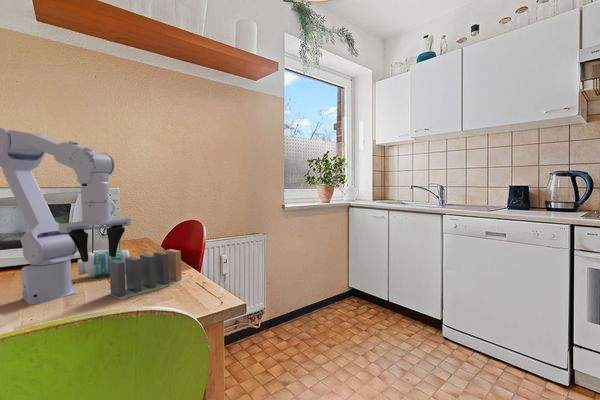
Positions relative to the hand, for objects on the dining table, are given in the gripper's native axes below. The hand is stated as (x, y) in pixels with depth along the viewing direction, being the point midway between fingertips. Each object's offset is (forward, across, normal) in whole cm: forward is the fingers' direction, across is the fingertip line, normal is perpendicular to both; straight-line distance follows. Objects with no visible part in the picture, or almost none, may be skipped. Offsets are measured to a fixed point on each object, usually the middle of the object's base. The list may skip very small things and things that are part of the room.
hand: (99, 258), depth 72 cm
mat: (+10, +12, +1) cm, 16 cm away
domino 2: (+10, +8, 0) cm, 13 cm away
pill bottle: (+6, +16, +21) cm, 27 cm away
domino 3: (+10, +12, 0) cm, 15 cm away
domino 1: (+10, +4, 0) cm, 11 cm away
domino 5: (+10, +19, 0) cm, 22 cm away
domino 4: (+10, +15, 0) cm, 18 cm away
